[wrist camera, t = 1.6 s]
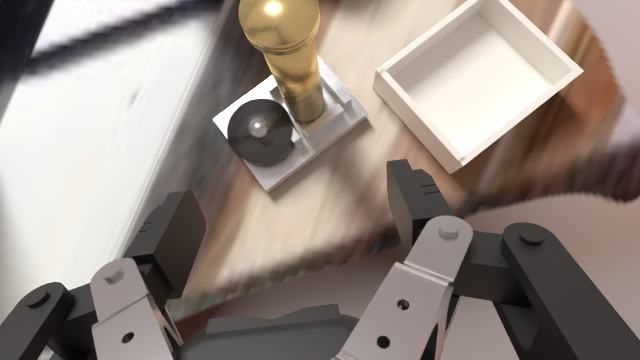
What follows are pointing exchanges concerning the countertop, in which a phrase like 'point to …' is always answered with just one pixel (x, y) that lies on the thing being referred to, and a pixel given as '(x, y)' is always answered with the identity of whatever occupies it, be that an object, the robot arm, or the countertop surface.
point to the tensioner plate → (286, 128)
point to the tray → (472, 79)
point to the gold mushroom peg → (288, 49)
